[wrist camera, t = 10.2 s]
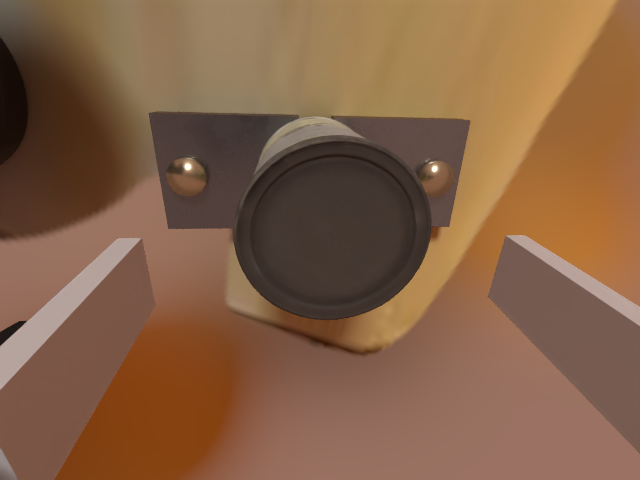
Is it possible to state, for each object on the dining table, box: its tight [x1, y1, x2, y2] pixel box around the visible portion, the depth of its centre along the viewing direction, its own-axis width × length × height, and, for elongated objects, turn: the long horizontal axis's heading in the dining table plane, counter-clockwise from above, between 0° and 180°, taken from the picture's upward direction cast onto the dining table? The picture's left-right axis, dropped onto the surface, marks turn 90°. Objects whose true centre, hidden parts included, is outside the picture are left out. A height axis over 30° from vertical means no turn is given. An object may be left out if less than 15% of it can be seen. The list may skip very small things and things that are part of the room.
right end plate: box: [331, 116, 470, 227], centre depth 31 cm, size 12×10×3 cm
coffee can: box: [233, 117, 432, 320], centre depth 24 cm, size 10×10×14 cm
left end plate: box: [149, 112, 299, 229], centre depth 30 cm, size 12×10×3 cm
